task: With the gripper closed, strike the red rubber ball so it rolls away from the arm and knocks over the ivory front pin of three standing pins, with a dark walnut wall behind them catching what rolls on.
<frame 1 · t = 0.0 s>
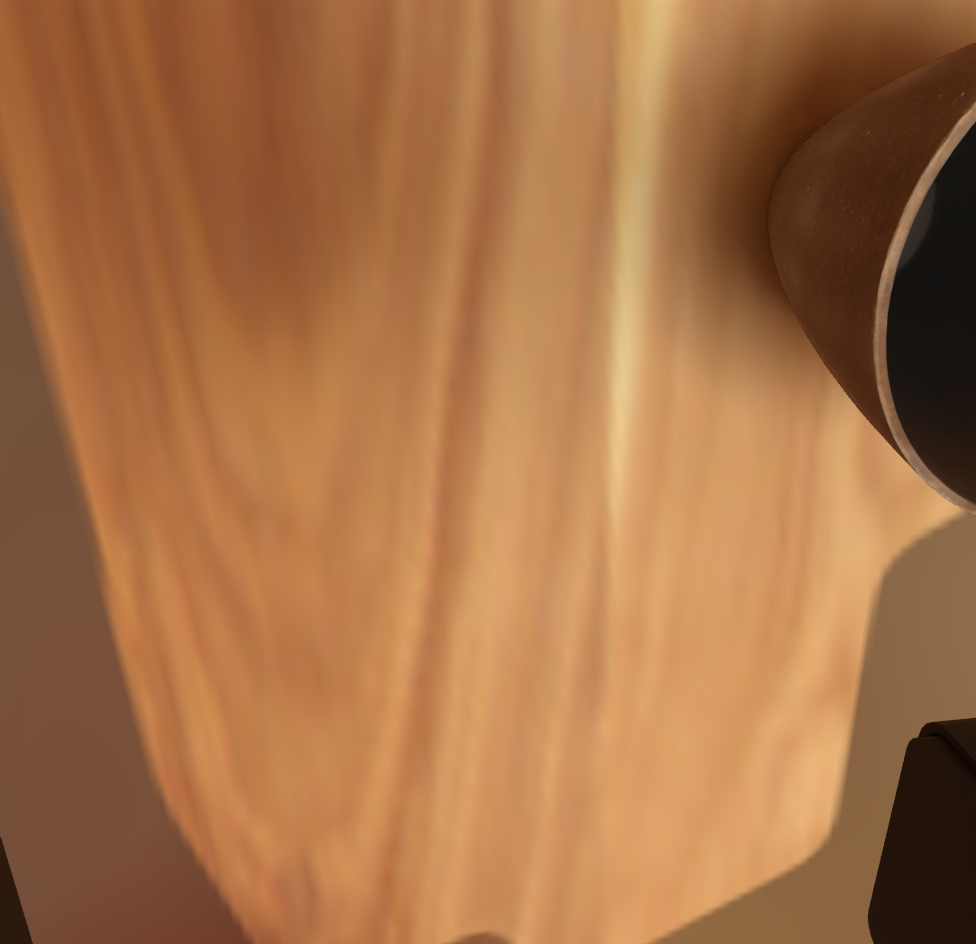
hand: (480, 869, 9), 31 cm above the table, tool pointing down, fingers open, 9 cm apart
plant pot: (846, 203, 39), on the table
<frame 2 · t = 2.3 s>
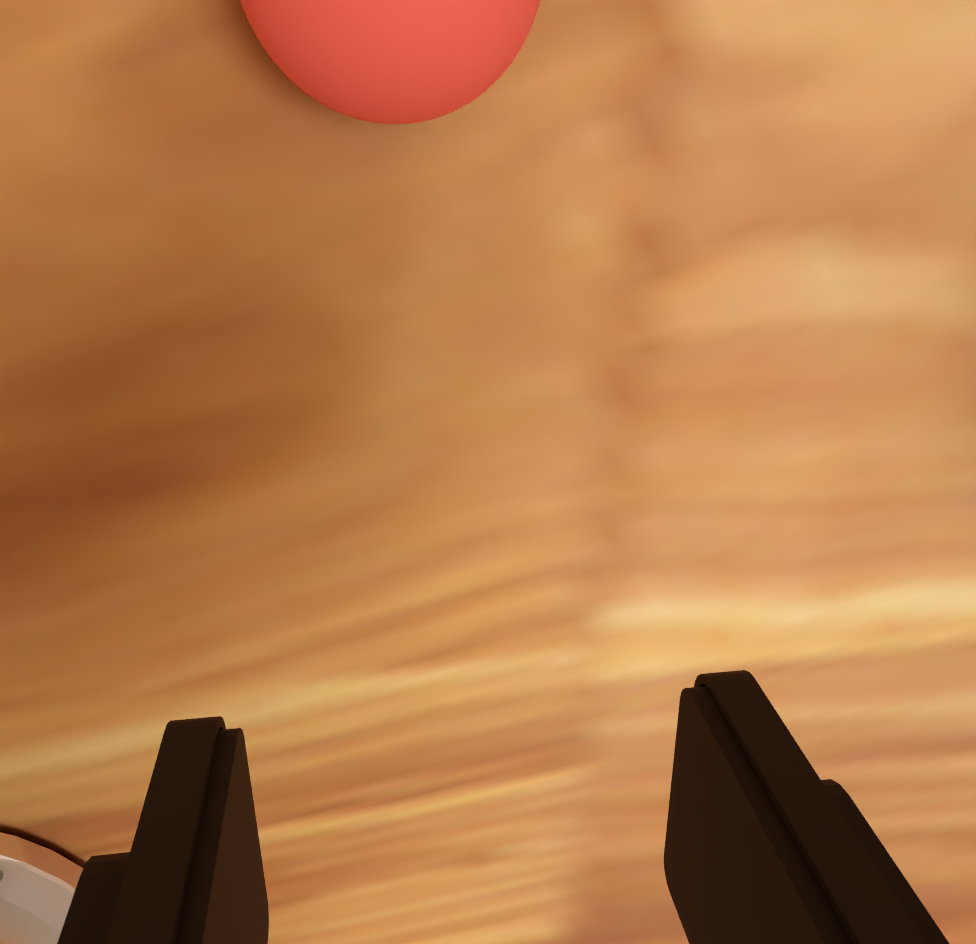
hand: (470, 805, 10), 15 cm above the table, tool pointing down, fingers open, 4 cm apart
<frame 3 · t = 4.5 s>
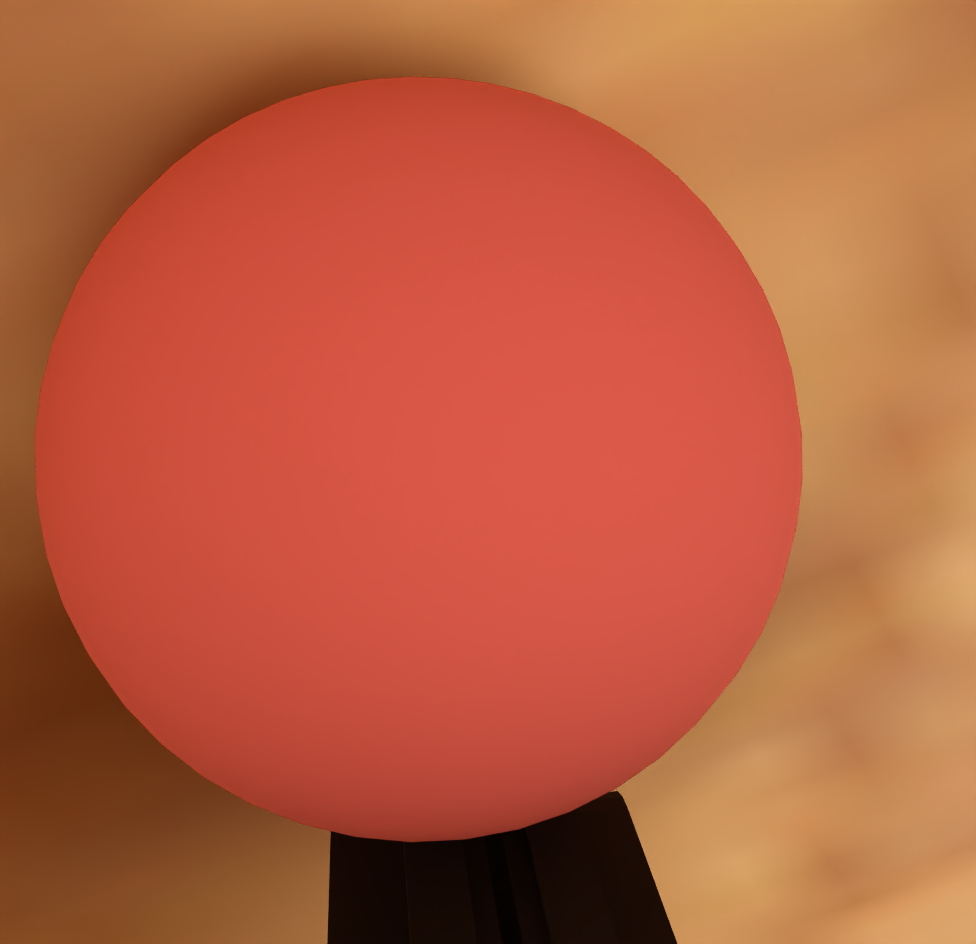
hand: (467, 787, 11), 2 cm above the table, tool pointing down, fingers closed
ball: (428, 461, 8), on the table
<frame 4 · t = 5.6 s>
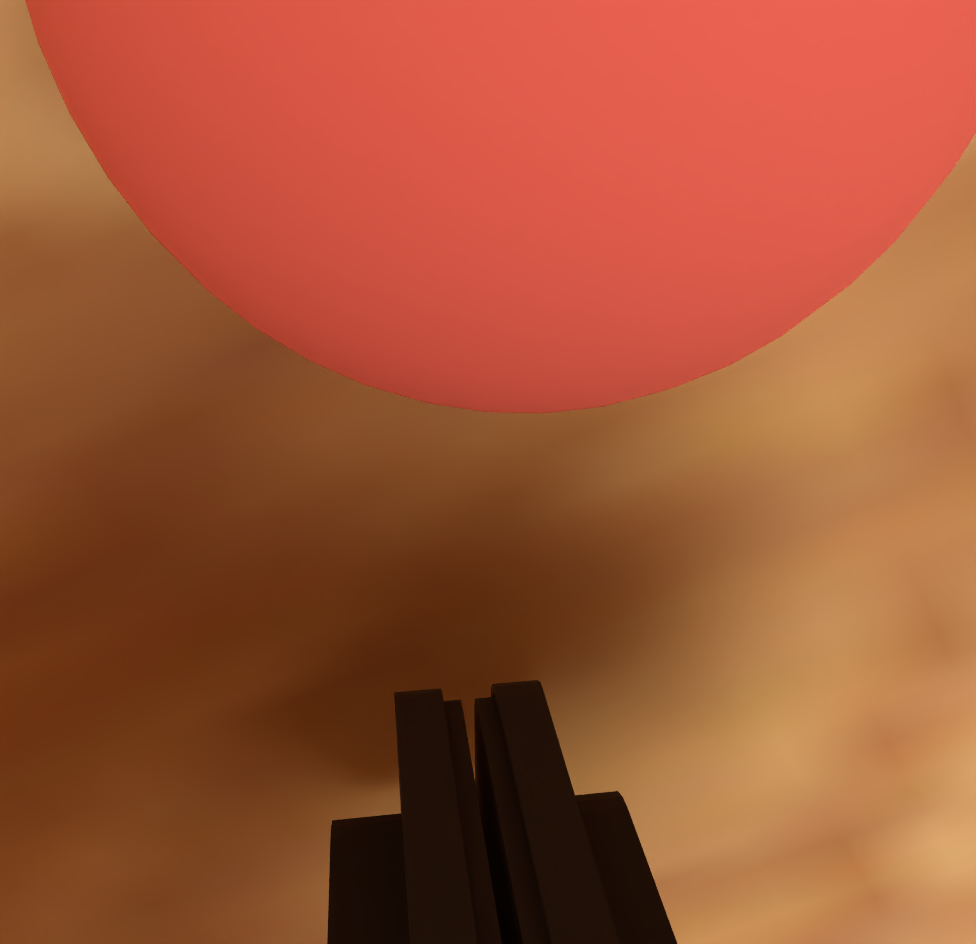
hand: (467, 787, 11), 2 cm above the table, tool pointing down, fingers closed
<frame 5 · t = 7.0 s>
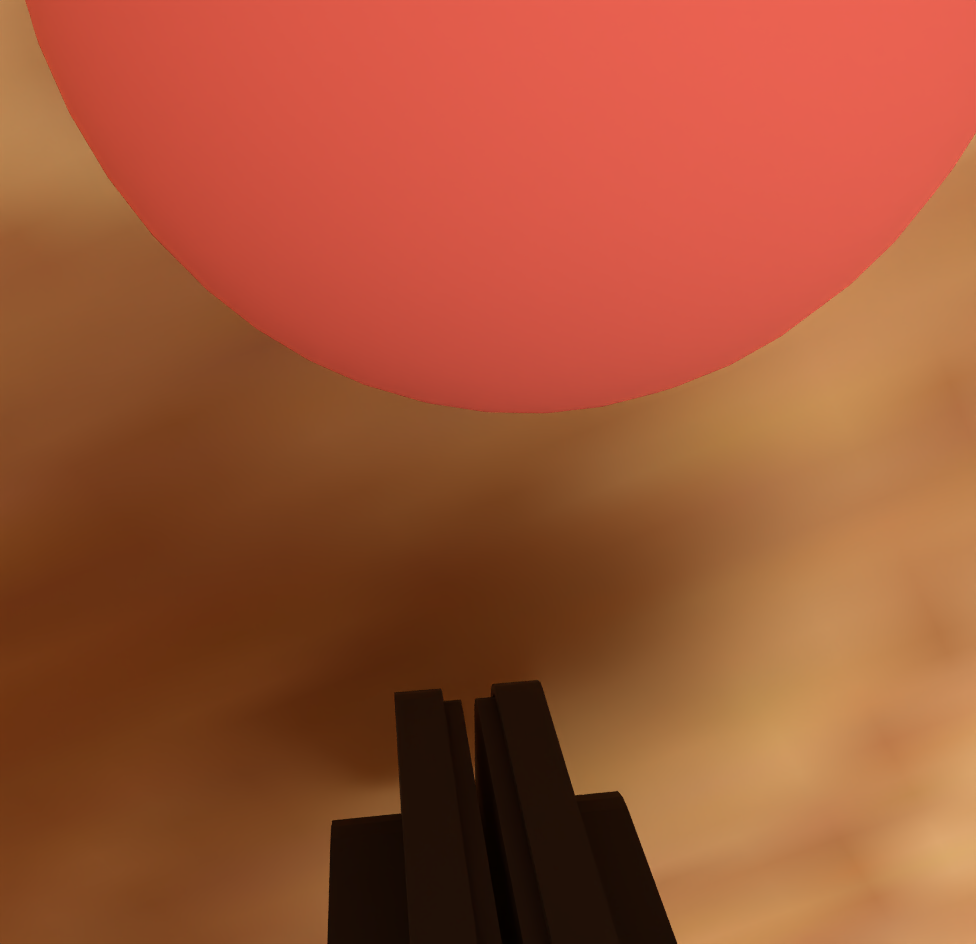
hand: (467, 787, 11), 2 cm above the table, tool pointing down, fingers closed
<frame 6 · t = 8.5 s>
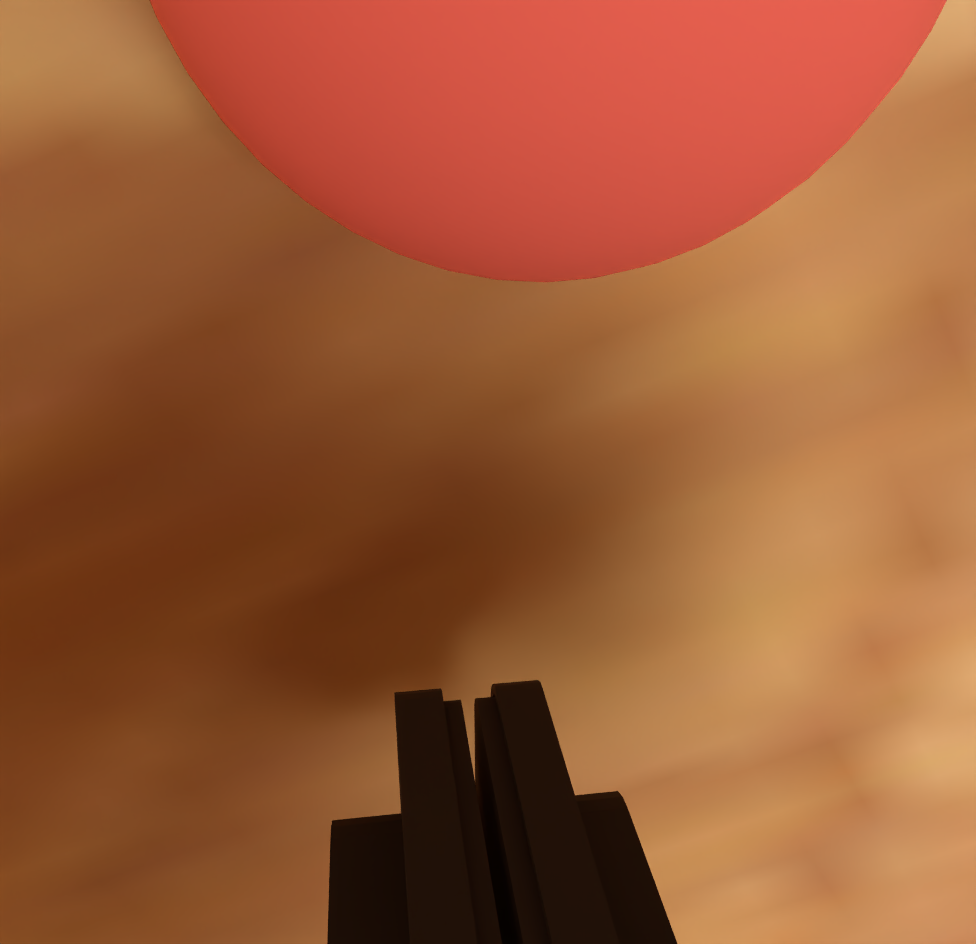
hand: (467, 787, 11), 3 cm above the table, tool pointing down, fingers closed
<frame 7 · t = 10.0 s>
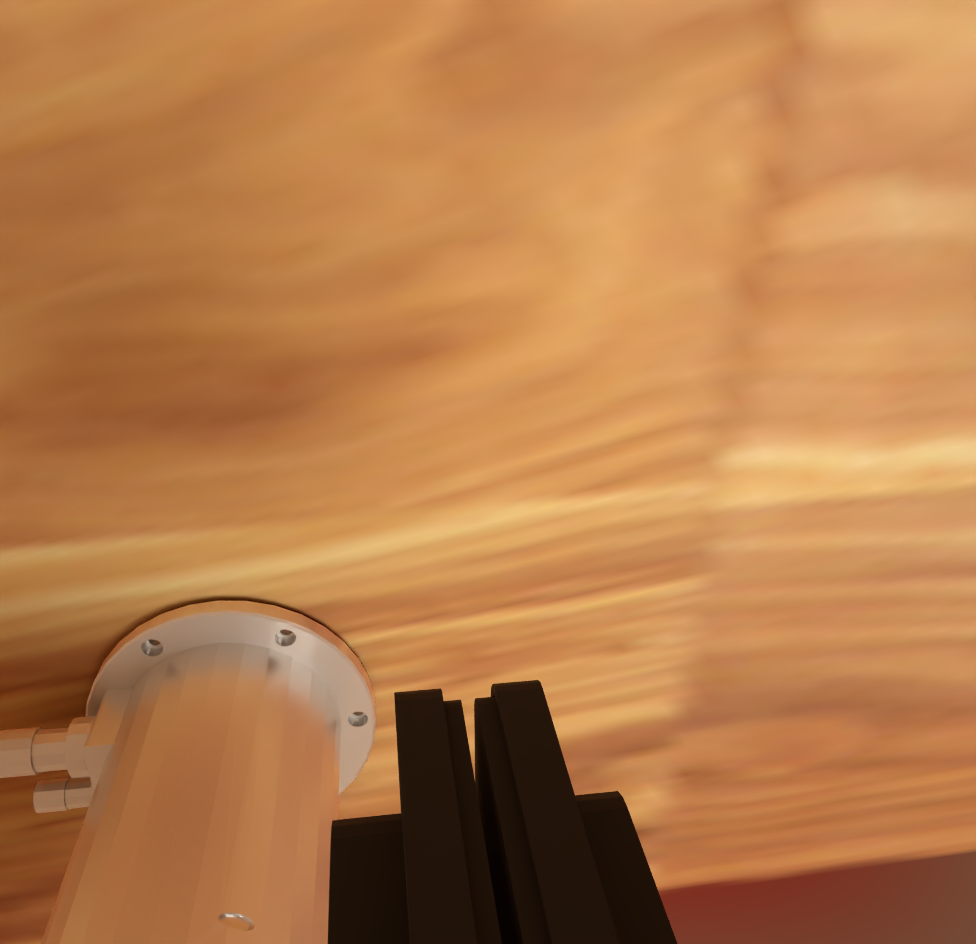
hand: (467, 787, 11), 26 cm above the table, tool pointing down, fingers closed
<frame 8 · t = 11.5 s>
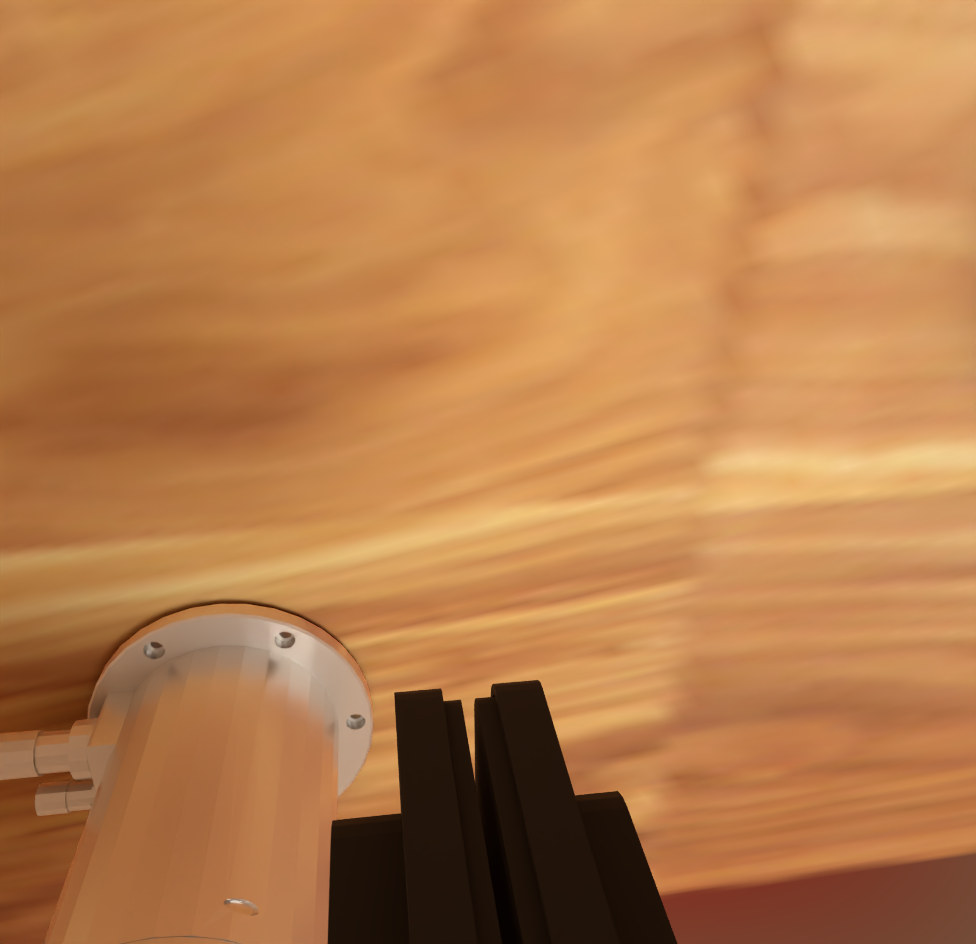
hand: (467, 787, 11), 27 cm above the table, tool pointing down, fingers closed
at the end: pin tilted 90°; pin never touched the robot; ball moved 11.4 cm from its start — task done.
